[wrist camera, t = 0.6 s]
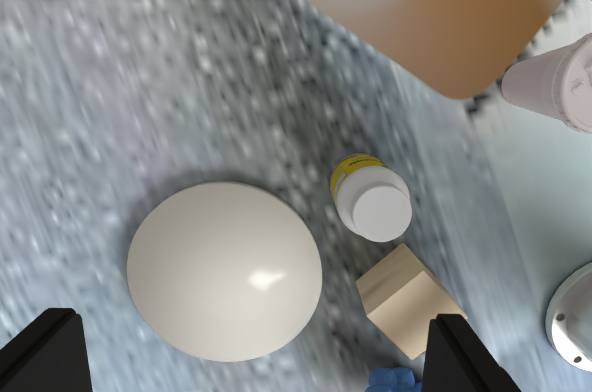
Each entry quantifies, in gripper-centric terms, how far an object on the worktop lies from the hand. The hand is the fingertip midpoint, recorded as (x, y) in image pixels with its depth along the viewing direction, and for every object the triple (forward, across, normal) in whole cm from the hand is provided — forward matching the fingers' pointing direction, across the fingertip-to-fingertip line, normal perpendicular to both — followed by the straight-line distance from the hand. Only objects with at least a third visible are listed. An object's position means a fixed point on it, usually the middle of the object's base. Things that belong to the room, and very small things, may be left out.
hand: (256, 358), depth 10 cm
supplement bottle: (+26, -7, +1) cm, 27 cm away
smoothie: (+26, -20, -8) cm, 34 cm away
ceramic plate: (+25, +5, +10) cm, 28 cm away
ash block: (+26, -11, +11) cm, 30 cm away
